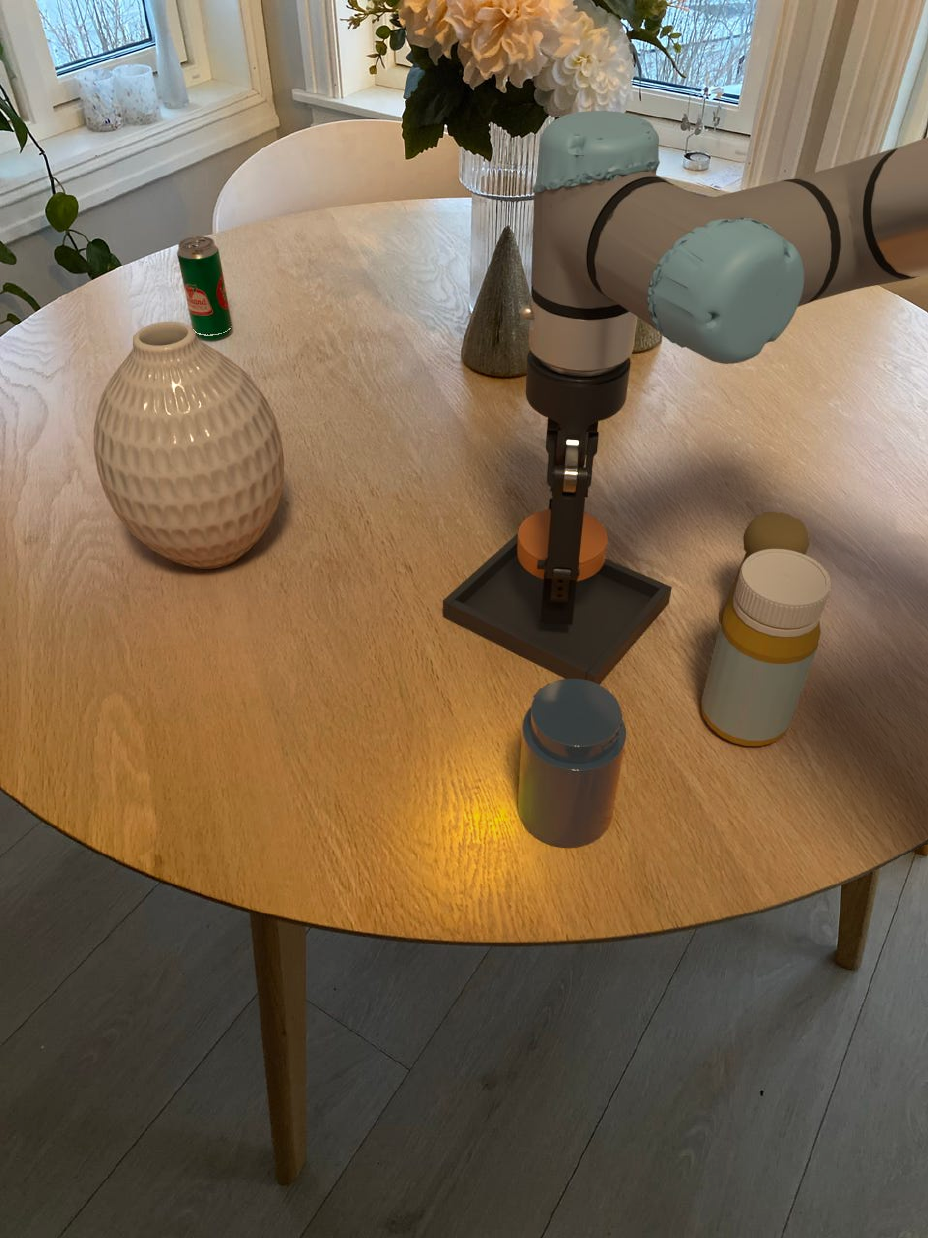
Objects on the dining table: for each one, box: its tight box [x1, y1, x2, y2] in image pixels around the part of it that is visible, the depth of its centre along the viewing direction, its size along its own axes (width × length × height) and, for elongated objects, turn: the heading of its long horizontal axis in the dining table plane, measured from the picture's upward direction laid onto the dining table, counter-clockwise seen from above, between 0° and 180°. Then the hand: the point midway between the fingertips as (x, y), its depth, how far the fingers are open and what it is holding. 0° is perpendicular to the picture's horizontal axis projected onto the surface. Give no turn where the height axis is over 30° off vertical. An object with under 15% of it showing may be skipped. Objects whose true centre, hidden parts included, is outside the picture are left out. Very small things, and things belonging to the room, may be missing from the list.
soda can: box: [176, 235, 233, 342], centre depth 122 cm, size 5×5×12 cm
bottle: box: [700, 549, 832, 747], centre depth 72 cm, size 7×7×15 cm
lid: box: [517, 508, 609, 581], centre depth 82 cm, size 8×8×2 cm
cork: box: [718, 511, 810, 625], centre depth 82 cm, size 6×6×11 cm
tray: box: [442, 532, 673, 686], centre depth 86 cm, size 16×14×2 cm
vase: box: [93, 321, 285, 570], centre depth 86 cm, size 16×16×22 cm
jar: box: [517, 678, 627, 849], centre depth 67 cm, size 7×7×11 cm
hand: (558, 588), depth 85 cm, fingers closed on lid, 7 cm apart
